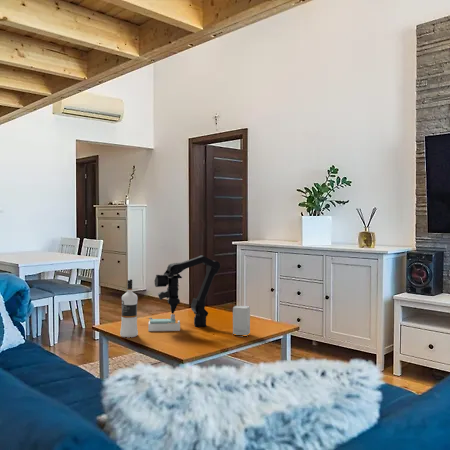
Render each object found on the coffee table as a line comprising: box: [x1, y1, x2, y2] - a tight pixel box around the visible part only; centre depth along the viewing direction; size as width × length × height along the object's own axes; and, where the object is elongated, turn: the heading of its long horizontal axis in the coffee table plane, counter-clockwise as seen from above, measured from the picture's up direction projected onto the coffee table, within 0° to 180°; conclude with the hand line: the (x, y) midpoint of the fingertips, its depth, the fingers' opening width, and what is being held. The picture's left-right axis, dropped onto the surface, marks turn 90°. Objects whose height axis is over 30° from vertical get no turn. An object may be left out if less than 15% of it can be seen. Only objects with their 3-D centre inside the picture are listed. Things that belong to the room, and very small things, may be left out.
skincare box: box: [232, 305, 251, 335], centre depth 254 cm, size 8×7×16 cm
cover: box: [148, 313, 177, 323], centre depth 263 cm, size 15×8×4 cm, turn 97°
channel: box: [147, 320, 181, 332], centre depth 263 cm, size 18×8×4 cm, turn 98°
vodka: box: [119, 279, 139, 339], centre depth 248 cm, size 9×9×30 cm
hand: (172, 313), depth 266 cm, fingers closed
